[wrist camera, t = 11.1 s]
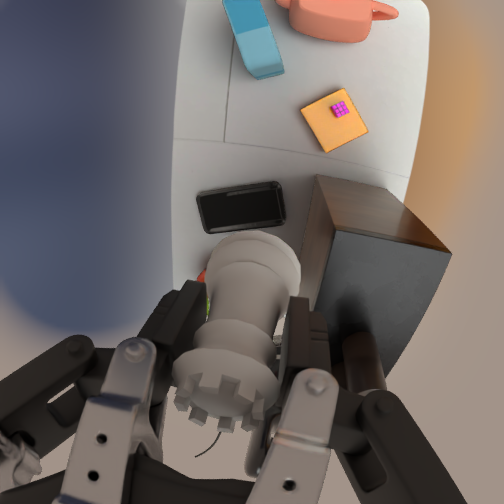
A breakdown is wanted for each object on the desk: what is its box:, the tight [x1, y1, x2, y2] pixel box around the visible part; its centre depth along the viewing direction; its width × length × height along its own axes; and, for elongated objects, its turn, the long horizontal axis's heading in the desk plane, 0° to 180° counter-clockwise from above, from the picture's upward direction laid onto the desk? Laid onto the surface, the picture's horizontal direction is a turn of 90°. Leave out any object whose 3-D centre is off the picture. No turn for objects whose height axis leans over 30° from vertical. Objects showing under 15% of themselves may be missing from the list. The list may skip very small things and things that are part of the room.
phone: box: [196, 181, 286, 234], centre depth 49 cm, size 8×1×15 cm
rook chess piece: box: [172, 231, 301, 433], centre depth 10 cm, size 4×4×8 cm
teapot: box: [275, 0, 399, 43], centre depth 26 cm, size 20×12×12 cm, turn 84°
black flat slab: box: [311, 225, 452, 378], centre depth 26 cm, size 22×13×7 cm, turn 174°
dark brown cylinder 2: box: [342, 332, 387, 396], centre depth 26 cm, size 4×4×8 cm
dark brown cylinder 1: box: [331, 361, 347, 390], centre depth 28 cm, size 4×4×8 cm
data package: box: [222, 0, 284, 80], centre depth 31 cm, size 12×4×12 cm, turn 16°
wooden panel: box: [297, 174, 446, 311], centre depth 39 cm, size 22×13×23 cm, turn 174°
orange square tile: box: [300, 88, 368, 153], centre depth 38 cm, size 8×8×4 cm
